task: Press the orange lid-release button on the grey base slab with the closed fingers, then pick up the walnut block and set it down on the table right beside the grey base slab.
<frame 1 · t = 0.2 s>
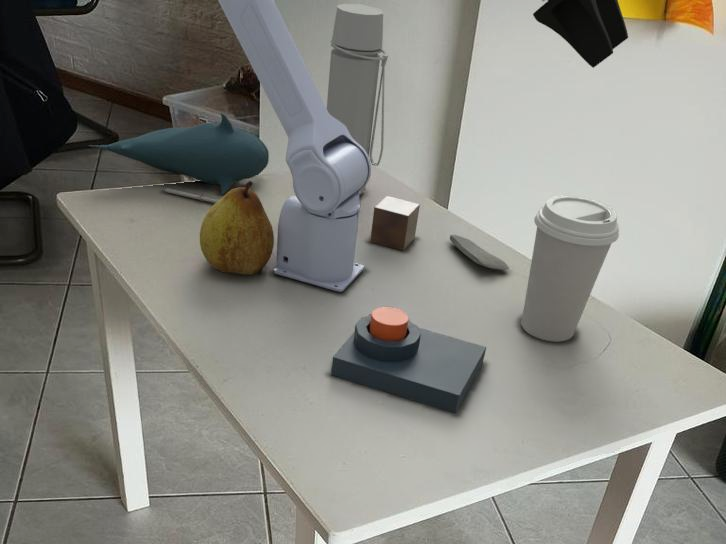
hand: (611, 52, 79), 31 cm above the table, tool tilted 45°, fingers open, 7 cm apart
fruit: (236, 269, 104), on the table
coffee cup: (546, 329, 101), on the table
grey base slab: (408, 369, 90), on the table
walnut block: (392, 240, 116), on the table
lid button: (388, 324, 88), point 5 cm above the table, slide at 0.1 cm
water bottle: (348, 192, 128), on the table
toy: (190, 153, 116), point 6 cm above the table
decorative stone: (488, 255, 115), on the table
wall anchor: (192, 201, 119), on the table
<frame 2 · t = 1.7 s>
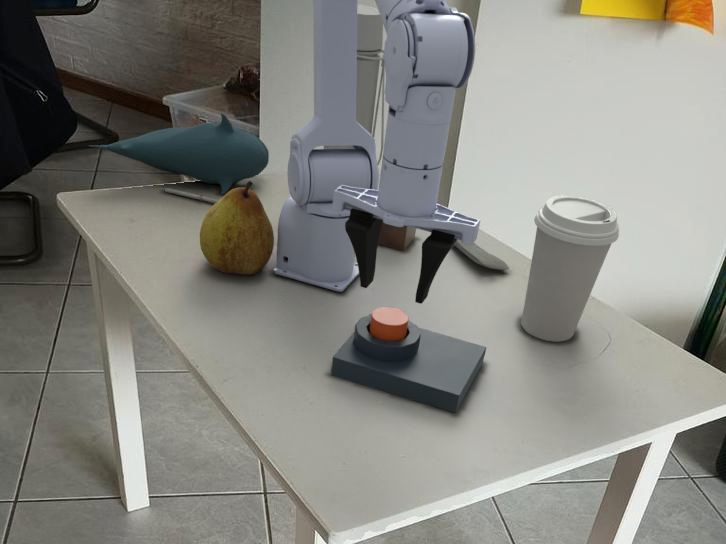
hand: (393, 291, 85), 9 cm above the table, tool pointing down, fingers open, 5 cm apart
nothing on the table moved.
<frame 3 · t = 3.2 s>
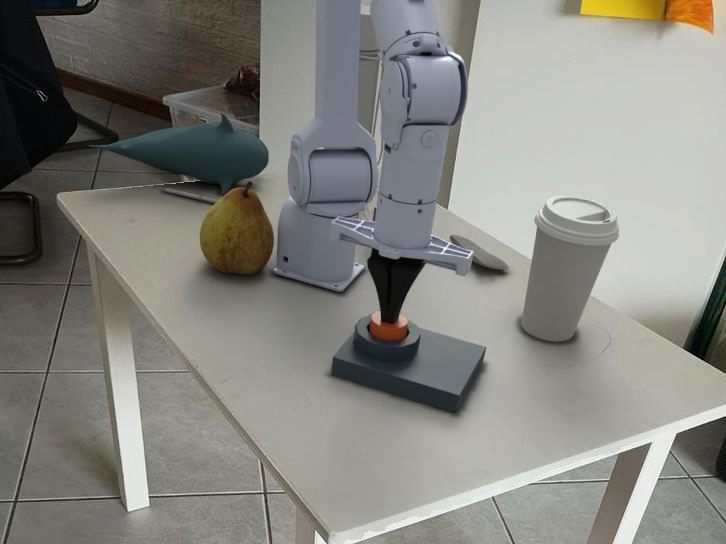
hand: (389, 319, 87), 5 cm above the table, tool pointing down, fingers closed, pressing on lid button
lid button: (388, 327, 88), point 4 cm above the table, slide at -0.2 cm, touching gripper
everything else where it was.
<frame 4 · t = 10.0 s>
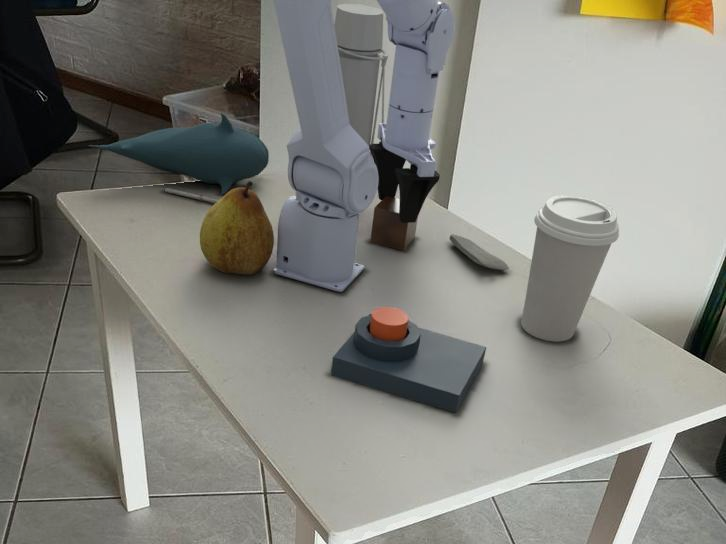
hand: (396, 210, 113), 4 cm above the table, tool pointing down
walnut block: (392, 240, 116), on the table, touching gripper
lid button: (388, 324, 88), point 5 cm above the table, slide at 0.1 cm
everything else where it was.
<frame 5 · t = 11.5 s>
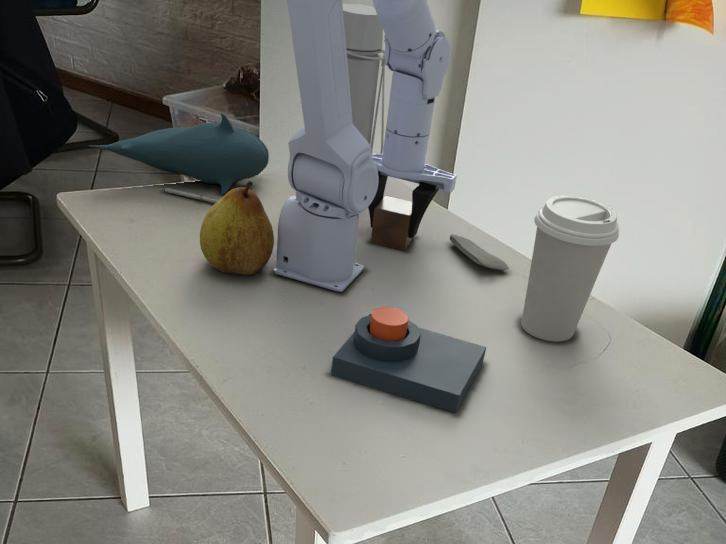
hand: (393, 230, 115), 1 cm above the table, tool pointing down, fingers closed on walnut block, 5 cm apart
walnut block: (392, 240, 116), on the table, touching gripper
everything else where it was.
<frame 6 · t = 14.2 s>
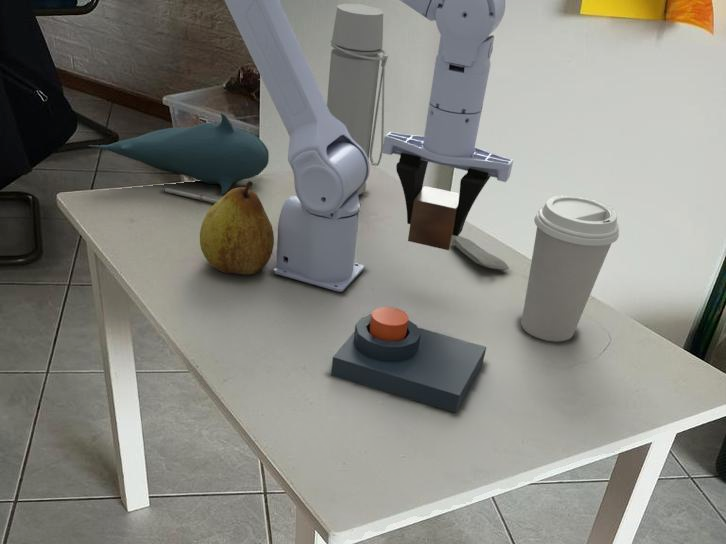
hand: (434, 227, 97), 9 cm above the table, tool pointing down, fingers closed on walnut block, 5 cm apart
walnut block: (432, 238, 98), point 8 cm above the table, touching gripper
everything else where it was.
when the fingers open (1 cm above the table, at t = 17.2 s): walnut block stays where it is, on the table.
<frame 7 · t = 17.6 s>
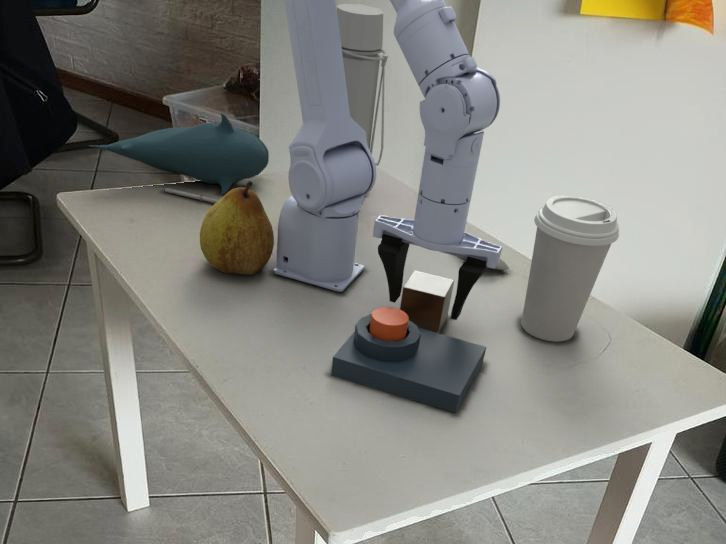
hand: (424, 307, 98), 2 cm above the table, tool pointing down, fingers open, 7 cm apart
walnut block: (422, 321, 99), on the table
everything else where it was.
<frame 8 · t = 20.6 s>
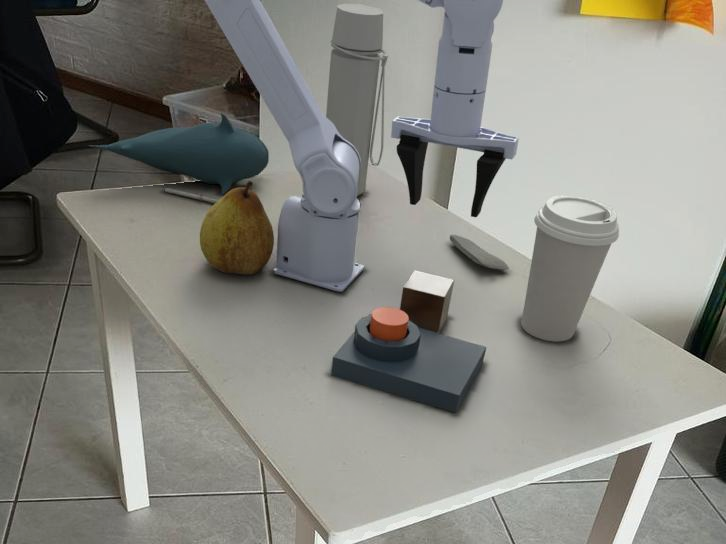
hand: (445, 208, 99), 10 cm above the table, tool pointing down, fingers open, 7 cm apart
nothing on the table moved.
at the end: lid button pushed in 1.2 cm at the most during the clip, back to where it started at the end; lid button slide at 0.1 cm; walnut block inside the target area on the table beside the grey base slab (0.1 cm from its centre), on the table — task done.
